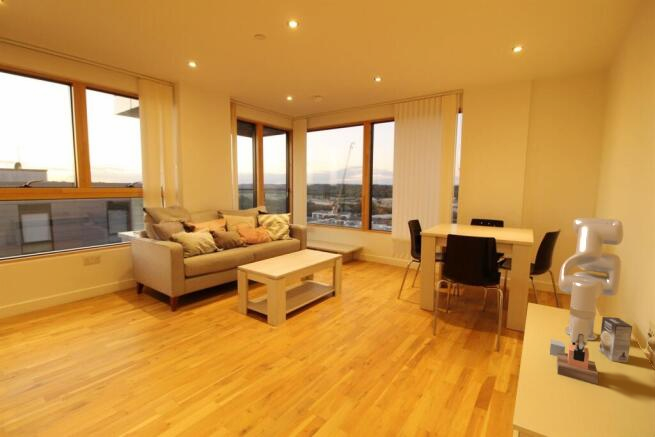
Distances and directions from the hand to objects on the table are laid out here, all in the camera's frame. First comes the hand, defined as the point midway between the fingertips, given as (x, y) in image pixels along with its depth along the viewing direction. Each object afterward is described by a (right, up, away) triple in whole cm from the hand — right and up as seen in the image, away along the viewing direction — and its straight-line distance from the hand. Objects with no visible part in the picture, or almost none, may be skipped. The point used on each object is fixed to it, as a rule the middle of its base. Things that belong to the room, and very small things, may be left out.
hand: (577, 355), depth 125 cm
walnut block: (0, -8, +1) cm, 8 cm away
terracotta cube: (0, -4, 0) cm, 4 cm away
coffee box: (+26, -7, +13) cm, 30 cm away
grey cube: (+2, -6, +15) cm, 16 cm away
